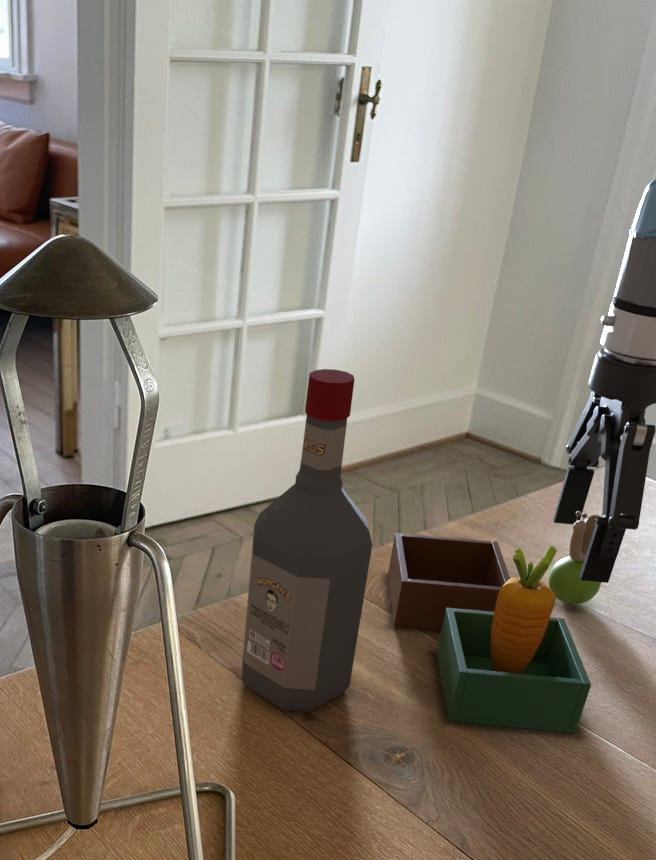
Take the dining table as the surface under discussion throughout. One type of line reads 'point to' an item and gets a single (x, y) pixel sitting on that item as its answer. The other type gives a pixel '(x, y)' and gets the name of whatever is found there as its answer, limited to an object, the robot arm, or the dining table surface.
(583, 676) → the green bin
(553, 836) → the dining table surface
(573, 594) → the snail figurine
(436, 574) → the brown bin
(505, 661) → the carrot
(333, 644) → the liquor
